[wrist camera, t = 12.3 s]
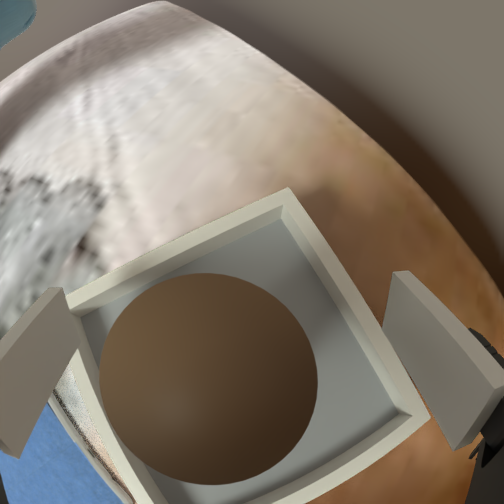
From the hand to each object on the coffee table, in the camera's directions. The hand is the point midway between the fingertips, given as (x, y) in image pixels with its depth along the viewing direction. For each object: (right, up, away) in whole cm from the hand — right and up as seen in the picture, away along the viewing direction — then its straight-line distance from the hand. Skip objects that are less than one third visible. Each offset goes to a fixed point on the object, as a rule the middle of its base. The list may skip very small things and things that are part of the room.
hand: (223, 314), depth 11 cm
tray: (0, -5, +5) cm, 7 cm away
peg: (0, -5, +5) cm, 7 cm away
